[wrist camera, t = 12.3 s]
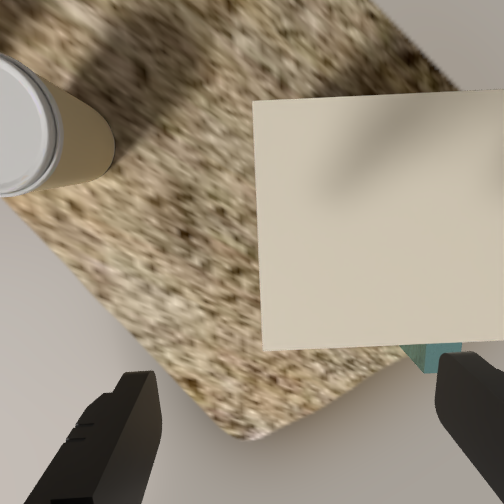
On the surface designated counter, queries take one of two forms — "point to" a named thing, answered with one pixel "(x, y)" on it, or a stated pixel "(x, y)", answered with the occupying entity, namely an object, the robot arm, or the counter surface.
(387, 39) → the counter surface
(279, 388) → the counter surface
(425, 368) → the tool
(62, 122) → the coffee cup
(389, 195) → the cabinet
